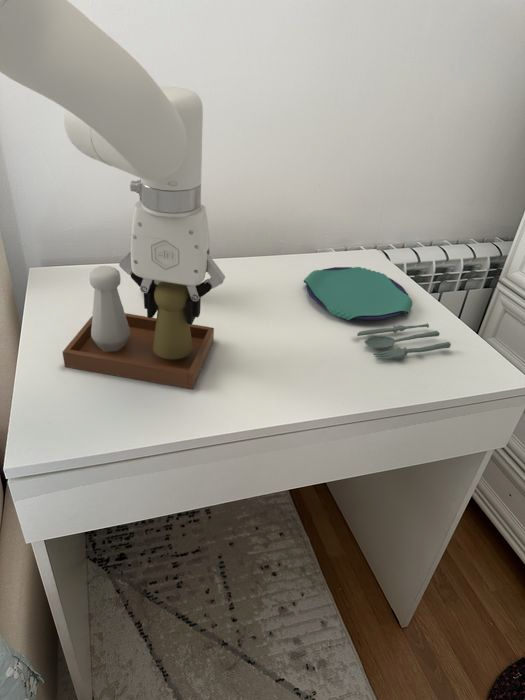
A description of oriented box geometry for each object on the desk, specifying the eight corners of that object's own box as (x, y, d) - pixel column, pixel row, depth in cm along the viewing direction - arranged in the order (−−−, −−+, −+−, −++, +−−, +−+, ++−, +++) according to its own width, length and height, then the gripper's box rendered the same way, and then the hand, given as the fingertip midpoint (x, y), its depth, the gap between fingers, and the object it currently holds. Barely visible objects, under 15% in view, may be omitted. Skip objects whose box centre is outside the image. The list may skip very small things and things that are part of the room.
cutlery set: (375, 271, 114) (377, 261, 113) (460, 352, 92) (464, 341, 90) (289, 279, 108) (290, 268, 107) (357, 367, 85) (360, 356, 84)
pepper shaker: (151, 337, 83) (148, 274, 77) (189, 335, 85) (190, 273, 78) (154, 360, 79) (152, 295, 72) (195, 357, 80) (196, 293, 74)
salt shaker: (125, 331, 87) (120, 258, 79) (135, 351, 83) (130, 276, 75) (88, 338, 84) (79, 263, 77) (96, 358, 80) (87, 282, 73)
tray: (64, 366, 79) (62, 351, 78) (99, 322, 89) (98, 308, 88) (192, 389, 78) (193, 374, 76) (213, 341, 88) (214, 327, 86)
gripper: (94, 195, 66) (106, 320, 76) (230, 215, 64) (223, 339, 75) (118, 177, 72) (126, 295, 82) (242, 195, 70) (234, 312, 81)
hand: (172, 315), depth 78 cm, fingers closed on pepper shaker, 5 cm apart
